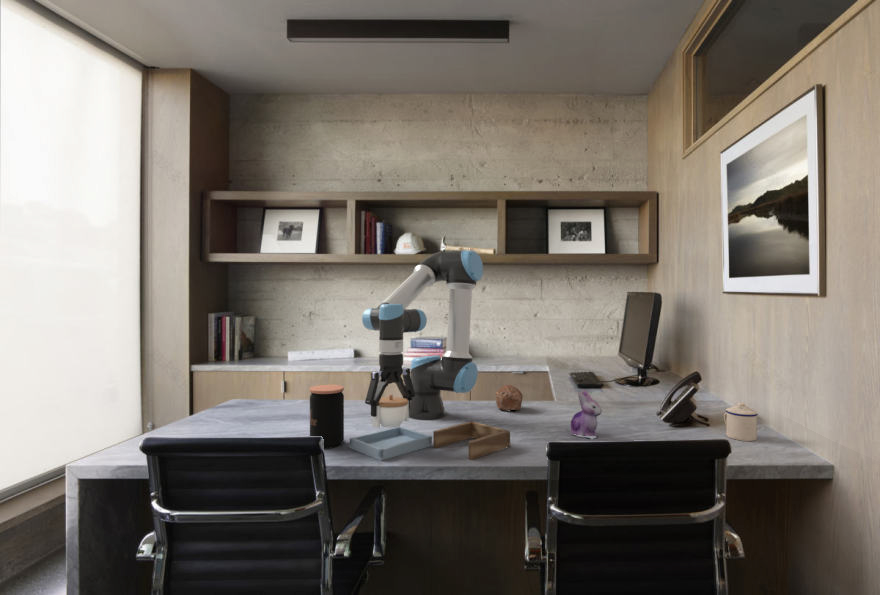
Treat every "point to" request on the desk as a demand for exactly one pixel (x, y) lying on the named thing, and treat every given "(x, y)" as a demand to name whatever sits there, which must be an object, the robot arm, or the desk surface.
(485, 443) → the dock
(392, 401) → the lidded jar
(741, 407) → the teacup with lid
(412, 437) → the tray
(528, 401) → the desk surface
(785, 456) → the desk surface
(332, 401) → the coffee jar
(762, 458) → the desk surface
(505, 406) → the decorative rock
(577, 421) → the figurine
